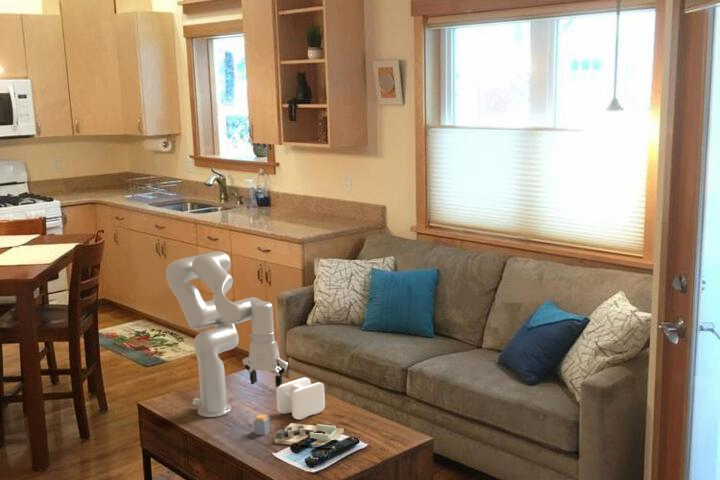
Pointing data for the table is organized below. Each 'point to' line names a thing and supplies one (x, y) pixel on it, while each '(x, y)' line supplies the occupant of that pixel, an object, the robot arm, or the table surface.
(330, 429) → the bracket
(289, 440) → the board
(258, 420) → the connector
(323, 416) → the table surface
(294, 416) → the cable organizer
